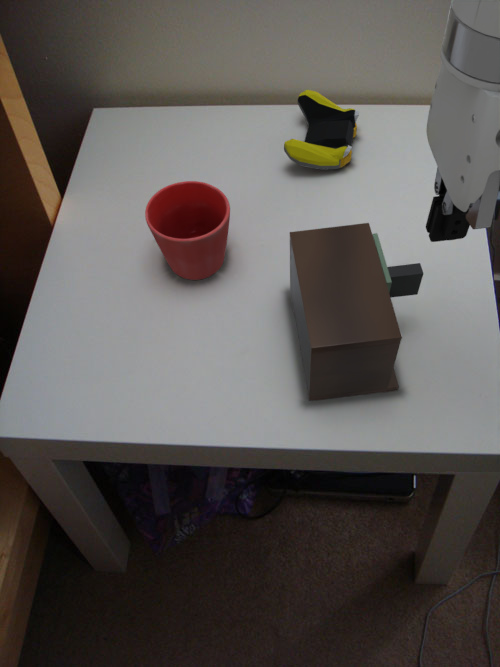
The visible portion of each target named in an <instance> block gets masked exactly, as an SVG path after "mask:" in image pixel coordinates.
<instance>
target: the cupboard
mask: <svg viewBox="0 0 500 667" xmlns="http://www.w3.org/2000/svg"><path fill="white" fill-rule="evenodd" d="M372 234H373V232H372V228H371V225H370V223H369V222H364V223H356V224H346V225H338V226H330V227H321V228H313V229H305V230H297V231H290V232H289V295H290V301H291V307H292V311H293V319H294V324H295V329H296V330H295V331H296V336H297V341H298V346H299V353H300V358H301V364H302V370H303V375H304V382H305V387H306V392H307V399H308V402H314V401H321V400H331V399H339V398H348V397H355V396H356V397H357V396H365V395H373V394H380V393H388V392H390V393H391V392H396V391H399V388H400V387H399V383H398V378H397V375H396V374H397V373H396V371H395V364H396V360H397V357H398V352H399V349H400V346H401V343H402V339H403V336H402V332H401V329H400V325H399V322H398V318H397V315H396V311H395V308H394V304H393V301H392V298H391V297H390V294H389V290H388V287H387V284H386V280H385V277H384V273H383V270H382V266H381V263H380V259H379V256H378V252H377V249H376V245H375V242H374V239H373V235H372Z"/></svg>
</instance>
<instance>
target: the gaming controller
mask: <svg viewBox="0 0 500 667" xmlns="http://www.w3.org/2000/svg"><path fill="white" fill-rule="evenodd" d="M297 105H298V107H299V109H300V111H301V113H302V115H303V117H304V119H305V122H306V124H307V126H308V127H307V130H306V133H305V134H306V135H305V137H304V141H303V140H300V139H296V138H291V139H288V140H285V141H284V143H283V151H284V153H285V154H286V156H287V157H288V158H289V160H290V161H292V162H294V163H295V164H297V165H298V166H300V167H306V168H311V169H316V170H327V171H331V170H337V169H341V168H344V167H345V166H346V165H347V164H348V163H350V162H351V160H352V156H353V155H352V154H353V151H352V148H353V146H352V145H353V140H354V138H356V137H357V131H358V130H357V129H358V124H357V121H358V118H359V116H360V111H359V110H356V109H355V108H352V107H351V108H350V107H349V108H342V107H340V106H339V105H337V103H335V102H333V101H331V100H330V99H329V98H326V97H325V96H324V95H323V94H321V93H319V92H318V91H315V90H311V89H305V90H303V91H302V92H300V93H299V94H298V96H297Z"/></svg>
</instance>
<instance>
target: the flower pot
mask: <svg viewBox="0 0 500 667" xmlns="http://www.w3.org/2000/svg"><path fill="white" fill-rule="evenodd" d="M144 210H145V211H144V218H145V222H146V225H147V227H148V229H149V231H150V233H151V234H152V237H153V239H154V240H155V242H156V244H157V246H158V247H159V250H160V252H161V253H162V256H163V257H164V259H165V261H166V262H167V264H168V266H169V267H170V269H171V270H172V272H173V273H174V274H176V275H177V276H179V278H182V279H186V280H191V281H198V280H199V281H200V280H203V279H208V278H209V277H211V276H213V275H215V274H216V273H217V272H218V271H219V270H220V269H221V268H222V267H223V264H224V261H225V256H226V250H227V244H228V236H229V228H230V220H231V205H230V201H229V199H228V198H227V195H225V193H224V192H223V191H222V190H221V189H219V188H218V187H216V186H214V185H212V184H210V183H208V182H204V181H197V180H185V181H178V182H175V183H174V182H173V183H171V184H169V185H166V186H164V187H162V188H160V189H159V190H158V191H156V192H155V193H154V194H153V195H152V196H151V197H150V198H149V200H148V202H147V204H146V207H145V209H144Z"/></svg>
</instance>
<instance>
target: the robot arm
mask: <svg viewBox="0 0 500 667" xmlns="http://www.w3.org/2000/svg"><path fill="white" fill-rule="evenodd" d="M440 61H441V65H440V67H439V71H438V75H437V78H436V82H435V85H434V89H433V93H432V96H431V101H430V104H429V109H428V115H427V121H426V138H427V143H428V146H429V150H430V151H431V155H432V156H433V159H434V161H435V164H436V172H435V178H434V183H433V186H434V187H433V189H434V194H435V195H436V196H433V197H432V201H431V205H430V209H429V212H428V216H427V220H426V224H425V230H426V232H427V233H428V238H429V240H430V242H431V243H436V242H444V241H455V240H461V239H464V238H465V237H467V234H468V232H469V229H470V228H471V229H472V230H481V229H489V228H491V226H492V223H493V220H494V215H495V209H496V205H497V202H498V196H499V193H500V0H451V2H450V7H449V12H448V16H447V20H446V26H445V30H444V36H443V39H442V44H441V47H440Z"/></svg>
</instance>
